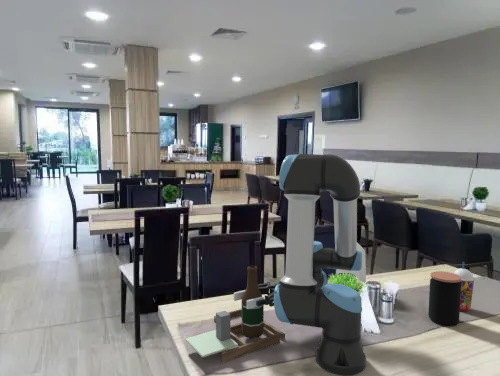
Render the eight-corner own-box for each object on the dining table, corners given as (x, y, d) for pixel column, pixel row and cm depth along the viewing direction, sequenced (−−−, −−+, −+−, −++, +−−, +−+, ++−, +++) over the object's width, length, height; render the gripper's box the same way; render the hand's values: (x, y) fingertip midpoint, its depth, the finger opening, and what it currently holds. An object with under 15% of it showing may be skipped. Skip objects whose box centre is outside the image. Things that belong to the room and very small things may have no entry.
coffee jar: (462, 320, 148) (465, 275, 146) (454, 329, 140) (457, 282, 138) (433, 312, 155) (435, 269, 153) (424, 321, 147) (426, 275, 146)
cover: (237, 345, 122) (237, 319, 121) (202, 357, 115) (202, 329, 114) (218, 330, 132) (218, 306, 131) (185, 340, 125) (184, 314, 124)
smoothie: (468, 315, 153) (470, 266, 151) (446, 308, 159) (448, 261, 157) (475, 309, 158) (478, 262, 156) (454, 303, 164) (456, 258, 163)
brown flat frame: (286, 340, 132) (286, 332, 132) (222, 362, 118) (222, 353, 117) (243, 312, 154) (243, 305, 154) (185, 328, 140) (185, 320, 140)
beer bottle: (261, 340, 128) (261, 271, 126) (239, 337, 130) (238, 269, 127) (265, 329, 136) (265, 264, 133) (244, 327, 137) (243, 262, 135)
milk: (359, 297, 171) (361, 240, 169) (334, 292, 177) (336, 237, 175) (365, 288, 182) (367, 235, 179) (342, 284, 187) (343, 232, 185)
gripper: (311, 306, 133) (257, 322, 121) (275, 288, 150) (225, 301, 137) (311, 285, 133) (257, 300, 120) (275, 270, 149) (225, 281, 137)
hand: (240, 300), depth 129 cm, fingers closed on beer bottle, 7 cm apart
